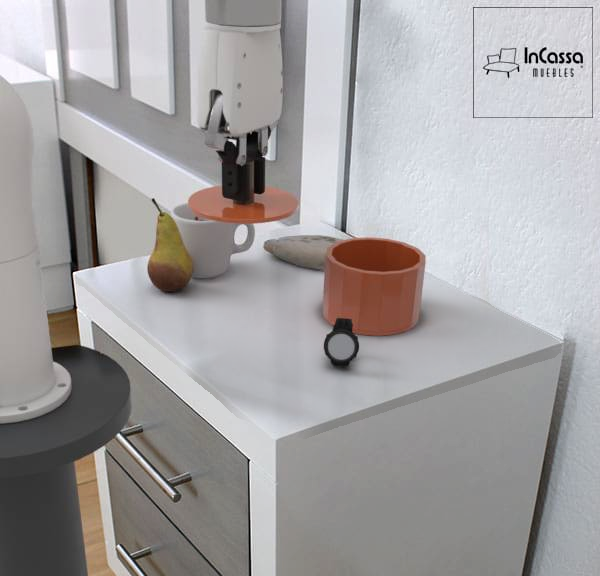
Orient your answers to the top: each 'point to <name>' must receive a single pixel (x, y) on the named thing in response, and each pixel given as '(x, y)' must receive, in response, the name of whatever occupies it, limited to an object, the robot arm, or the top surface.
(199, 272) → the cup
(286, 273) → the top surface
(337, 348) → the smartwatch
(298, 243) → the decorative stone
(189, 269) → the fruit
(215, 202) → the lid
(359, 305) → the pot
